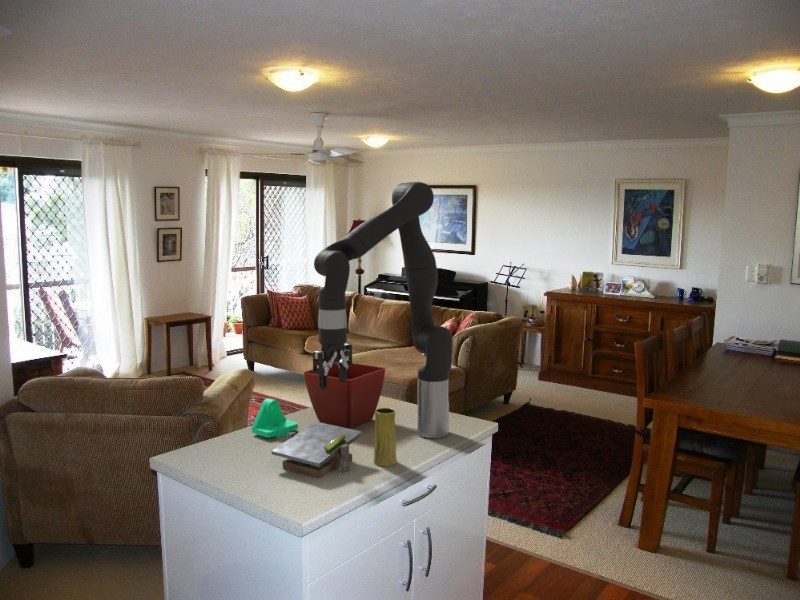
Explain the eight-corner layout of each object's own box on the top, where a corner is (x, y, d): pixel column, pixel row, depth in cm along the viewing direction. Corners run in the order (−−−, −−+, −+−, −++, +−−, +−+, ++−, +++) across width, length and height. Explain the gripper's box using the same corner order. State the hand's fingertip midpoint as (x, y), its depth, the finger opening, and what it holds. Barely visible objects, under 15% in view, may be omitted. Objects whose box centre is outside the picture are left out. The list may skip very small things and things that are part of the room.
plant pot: (302, 423, 209) (301, 371, 207) (341, 409, 225) (341, 360, 223) (349, 434, 199) (349, 379, 197) (387, 418, 214) (386, 368, 212)
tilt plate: (316, 424, 185) (314, 416, 185) (362, 434, 177) (361, 426, 176) (271, 454, 171) (270, 445, 170) (319, 467, 162) (318, 457, 162)
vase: (373, 458, 179) (372, 407, 177) (395, 458, 179) (395, 407, 177) (374, 467, 173) (374, 414, 171) (397, 466, 173) (397, 413, 171)
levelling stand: (307, 450, 185) (307, 425, 184) (363, 463, 175) (362, 438, 174) (272, 465, 174) (271, 439, 173) (329, 481, 163) (329, 454, 162)
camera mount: (268, 441, 193) (267, 407, 192) (252, 435, 198) (251, 402, 197) (299, 431, 202) (298, 398, 201) (283, 426, 207) (282, 394, 206)
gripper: (326, 330, 168) (327, 393, 170) (359, 323, 180) (360, 381, 182) (303, 328, 172) (305, 389, 174) (338, 320, 184) (338, 378, 186)
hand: (333, 385), depth 178 cm, fingers open, 7 cm apart
